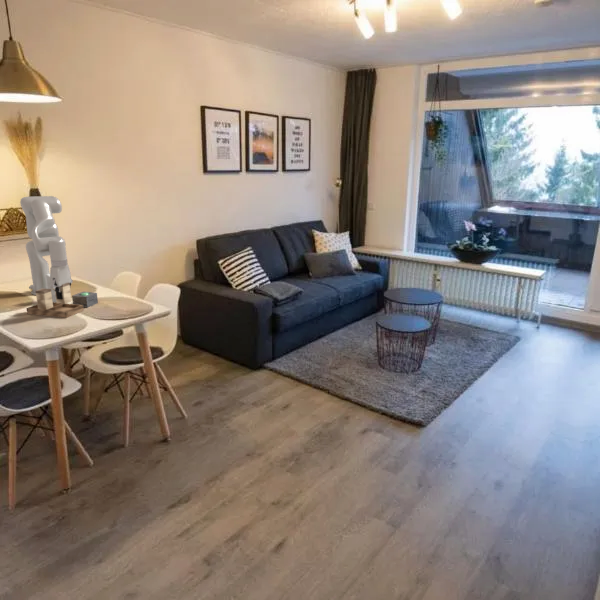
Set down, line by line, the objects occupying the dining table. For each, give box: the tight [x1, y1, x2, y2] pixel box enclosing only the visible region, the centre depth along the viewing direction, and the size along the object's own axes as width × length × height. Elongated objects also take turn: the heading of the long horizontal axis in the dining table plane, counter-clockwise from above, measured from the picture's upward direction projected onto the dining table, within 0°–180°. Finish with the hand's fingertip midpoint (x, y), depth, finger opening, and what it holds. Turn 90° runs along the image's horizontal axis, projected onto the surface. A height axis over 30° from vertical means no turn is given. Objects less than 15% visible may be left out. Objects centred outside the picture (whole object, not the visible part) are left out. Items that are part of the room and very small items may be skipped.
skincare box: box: [46, 274, 57, 303], centre depth 272 cm, size 8×7×16 cm
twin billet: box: [35, 288, 53, 310], centre depth 253 cm, size 5×5×10 cm
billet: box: [55, 283, 72, 304], centre depth 249 cm, size 5×5×10 cm
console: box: [71, 291, 99, 309], centre depth 266 cm, size 9×9×6 cm
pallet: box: [26, 302, 85, 319], centre depth 253 cm, size 24×13×3 cm, turn 76°
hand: (63, 297), depth 250 cm, fingers closed on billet, 5 cm apart
